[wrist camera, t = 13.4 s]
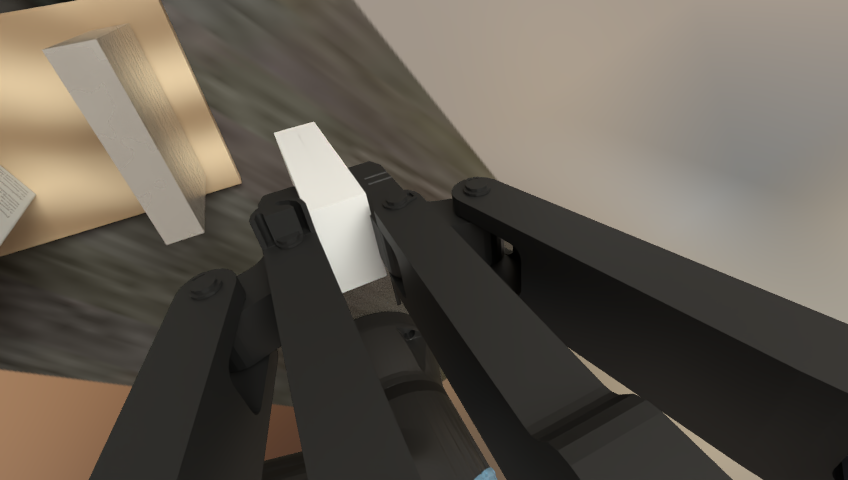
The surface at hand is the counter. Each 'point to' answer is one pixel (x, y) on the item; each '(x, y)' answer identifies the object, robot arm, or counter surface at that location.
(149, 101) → the grey rectangular slab
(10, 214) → the skincare box
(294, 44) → the counter surface
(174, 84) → the book rack
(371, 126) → the counter surface
